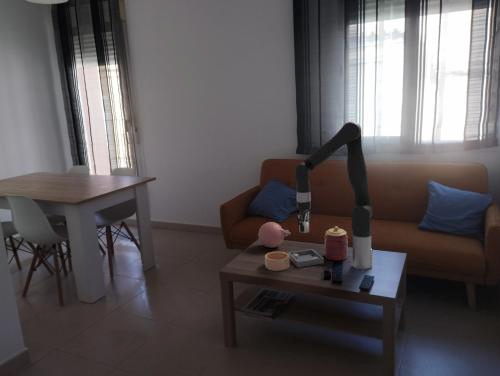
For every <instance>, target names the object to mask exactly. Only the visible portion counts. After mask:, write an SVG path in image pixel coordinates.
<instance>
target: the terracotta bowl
mask: <svg viewBox="0 0 500 376" xmlns="http://www.w3.org/2000/svg"><path fill="white" fill-rule="evenodd" d="M264 266H265V268H266V269H267V270H269V271H274V272H275V271H276V272H277V271H278V272H279V271H284V270H285V271H286V270H287V269H289V268H290V259H289V255H288V252H284V251H272V252H271V251H270V252H268V253H266V254H265V255H264Z"/></svg>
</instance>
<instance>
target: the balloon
mask: <svg viewBox="0 0 500 376" xmlns="http://www.w3.org/2000/svg"><path fill="white" fill-rule="evenodd" d="M258 230H259V231H258V235H257V236H258V240H259V241H260V243H261V244H262V246H264V247H266V248H271V249H272V248H276V247H278V246H280V245H281V244H282V242H283V241H284V238H285V237H288V236H289V235H291V234H292V233H291V232H290V231H289V229H284V228H282V226H281V225H280V224H279V223H276V222H274V221H269V222H266V223H264V224H262V226H261V227H259V229H258Z"/></svg>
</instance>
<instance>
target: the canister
mask: <svg viewBox="0 0 500 376" xmlns="http://www.w3.org/2000/svg"><path fill="white" fill-rule="evenodd" d="M323 238H324V239H325V240H324V257H325V258H326V259H327V260H329V261H330V260H331V261H344V260H346V259H347V258H348V257H349V247H348V246H349V241H348V239H349V236H348V235H347V231H346V230H345V229H342V228H339V226H336V225H335V226H334V227H333V228H329V229H328V230H326V231H325V235H324V237H323Z"/></svg>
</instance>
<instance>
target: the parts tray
mask: <svg viewBox="0 0 500 376" xmlns="http://www.w3.org/2000/svg"><path fill="white" fill-rule="evenodd" d="M287 254H288V255H289V261H291V263H293V264H294V265H295V267H297V268H301V267H309V266H316V265H323V264H325V258H324V257H323V256H322V255H320V253H318V252H317V251H316V250H315V249H313V248H310V249H304V250H297V251H296V250H295V251H288V252H287ZM293 254H298V258H297V259H296V258H295V257H294V256H293ZM313 257H318V258H317V259H313Z"/></svg>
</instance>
